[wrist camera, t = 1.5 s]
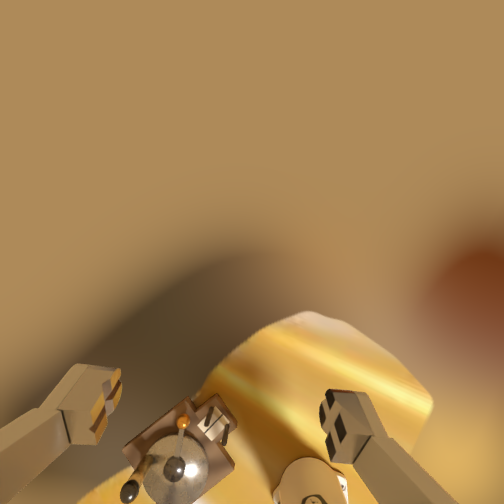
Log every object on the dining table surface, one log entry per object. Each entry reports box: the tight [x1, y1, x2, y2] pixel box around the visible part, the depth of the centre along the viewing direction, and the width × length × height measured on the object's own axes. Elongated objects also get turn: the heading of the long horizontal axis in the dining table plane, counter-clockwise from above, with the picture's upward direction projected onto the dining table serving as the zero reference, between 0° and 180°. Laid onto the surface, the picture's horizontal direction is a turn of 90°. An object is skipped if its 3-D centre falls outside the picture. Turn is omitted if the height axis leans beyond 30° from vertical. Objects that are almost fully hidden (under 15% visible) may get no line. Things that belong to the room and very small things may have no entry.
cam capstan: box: [120, 413, 209, 504], centre depth 53 cm, size 17×22×11 cm
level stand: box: [122, 393, 237, 504], centre depth 57 cm, size 20×26×8 cm
